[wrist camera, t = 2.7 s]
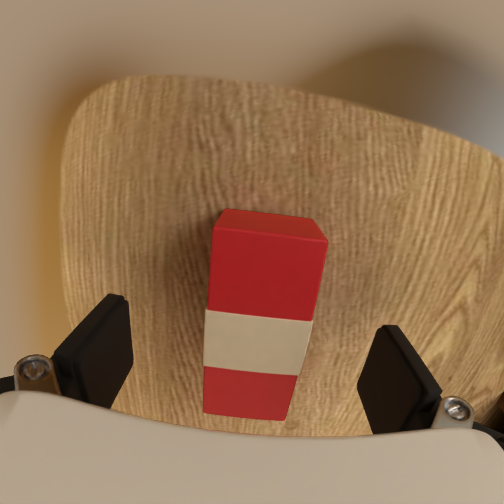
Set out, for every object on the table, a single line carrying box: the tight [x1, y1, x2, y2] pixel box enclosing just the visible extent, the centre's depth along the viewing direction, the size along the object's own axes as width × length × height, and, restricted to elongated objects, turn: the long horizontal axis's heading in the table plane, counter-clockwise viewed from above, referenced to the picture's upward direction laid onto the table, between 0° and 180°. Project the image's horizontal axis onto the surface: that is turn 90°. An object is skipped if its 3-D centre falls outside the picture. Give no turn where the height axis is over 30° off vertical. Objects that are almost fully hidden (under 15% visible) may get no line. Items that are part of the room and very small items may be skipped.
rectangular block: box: [203, 208, 328, 421], centre depth 12 cm, size 8×4×3 cm, turn 173°
